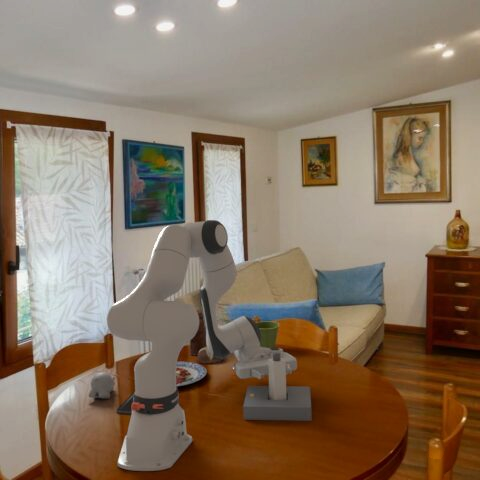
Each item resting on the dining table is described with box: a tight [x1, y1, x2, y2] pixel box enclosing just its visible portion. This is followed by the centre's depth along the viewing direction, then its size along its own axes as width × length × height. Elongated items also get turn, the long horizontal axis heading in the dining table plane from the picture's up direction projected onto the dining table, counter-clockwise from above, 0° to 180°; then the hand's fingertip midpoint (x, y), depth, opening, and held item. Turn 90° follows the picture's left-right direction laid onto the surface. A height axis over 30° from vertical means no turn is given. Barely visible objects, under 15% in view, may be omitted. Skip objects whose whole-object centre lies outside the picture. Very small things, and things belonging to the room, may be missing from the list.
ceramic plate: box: [176, 361, 207, 388], centre depth 185 cm, size 26×26×3 cm
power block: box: [242, 385, 313, 422], centre depth 156 cm, size 16×20×4 cm
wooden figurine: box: [189, 309, 207, 356], centre depth 215 cm, size 12×6×18 cm, turn 170°
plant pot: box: [255, 320, 281, 348], centre depth 214 cm, size 12×12×11 cm
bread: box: [196, 347, 225, 365], centre depth 205 cm, size 11×11×5 cm
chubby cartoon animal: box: [87, 371, 116, 400], centre depth 170 cm, size 7×12×8 cm, turn 165°
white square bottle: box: [268, 352, 287, 400], centre depth 155 cm, size 4×4×17 cm
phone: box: [116, 392, 134, 415], centre depth 163 cm, size 8×1×15 cm
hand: (275, 374), depth 156 cm, fingers open, 8 cm apart
